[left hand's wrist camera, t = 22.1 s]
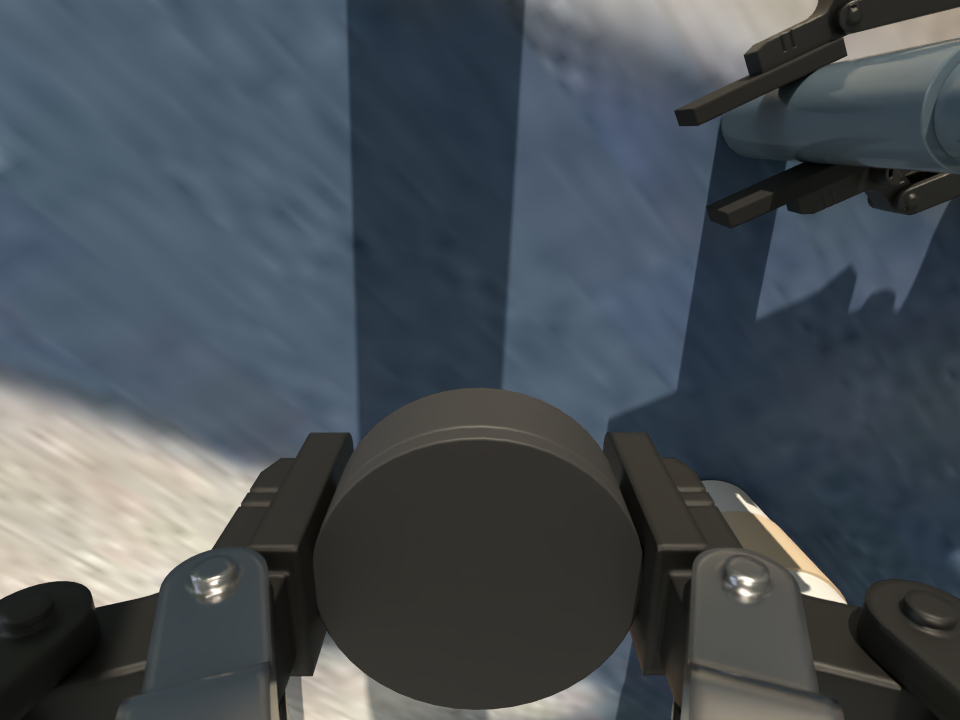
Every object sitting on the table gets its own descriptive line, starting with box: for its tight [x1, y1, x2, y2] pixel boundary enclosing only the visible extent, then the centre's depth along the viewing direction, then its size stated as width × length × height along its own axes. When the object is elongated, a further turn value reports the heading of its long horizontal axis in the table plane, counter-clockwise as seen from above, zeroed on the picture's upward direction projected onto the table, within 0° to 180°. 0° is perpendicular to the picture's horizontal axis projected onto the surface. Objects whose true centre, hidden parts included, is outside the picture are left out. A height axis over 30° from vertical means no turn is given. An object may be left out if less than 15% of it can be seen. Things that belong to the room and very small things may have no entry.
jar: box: [721, 38, 960, 174], centre depth 26 cm, size 4×4×18 cm
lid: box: [313, 388, 643, 710], centre depth 10 cm, size 5×5×2 cm
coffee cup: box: [702, 480, 847, 604], centre depth 36 cm, size 9×9×15 cm
